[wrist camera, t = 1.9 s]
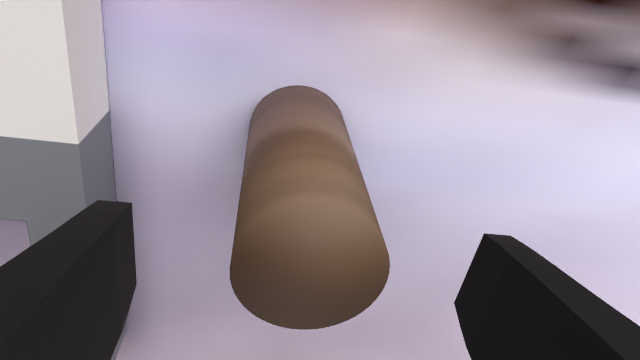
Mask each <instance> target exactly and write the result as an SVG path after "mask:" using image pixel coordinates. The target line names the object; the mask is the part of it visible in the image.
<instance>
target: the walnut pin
mask: <svg viewBox="0 0 640 360" xmlns="http://www.w3.org/2000/svg"><path fill="white" fill-rule="evenodd" d="M389 267H390V262H389V254H388V251H387V248H386V245H385V242H384V239H383V236H382V233H381V230H380V227H379V224H378V221H377V218H376V215H375V212H374V209H373V206H372V203H371V200H370V197H369V194H368V191H367V188H366V185H365V182H364V179H363V176H362V173H361V170H360V167H359V164H358V161H357V158H356V155H355V153H354V150H353V147H352V144H351V141H350V138H349V135H348V132H347V129H346V126H345V123H344V120H343V117H342V114H341V112H340V110H339V108H338V106H337V105H336V104H335V102H334V101H333V100H332V99H331V98H330V97H329V96H327V95H326V94H324V93H323V92H321V91H319V90H317V89H314V88H311V87H307V86H288V87H284V88H281V89H278V90H276V91H274V92H272V93H270V94H269V95H267V96H266V97H265V98H264V99H262V101H261V102H260V103H259V104H258V105H257V107H256V108H255V110H254V112H253V114H252V117H251V120H250V127H249V134H248V141H247V148H246V155H245V163H244V170H243V177H242V184H241V192H240V199H239V206H238V213H237V221H236V228H235V235H234V242H233V250H232V257H231V264H230V280H231V285H232V288H233V290H234V293H235V295H236V296H237V298H238V300H239V301H240V302H241V303H242V305H243V306H244V307H245V308H246V309H247V310H248V311H250V312H251V313H252V314H254V315H255V316H256V317H258V318H260V319H262V320H264V321H266V322H268V323H271V324H274V325H277V326H280V327H285V328H291V329H319V328H324V327H329V326H333V325H336V324H339V323H342V322H345V321H347V320H349V319H351V318H353V317H355V316H356V315H358V314H360V313H361V312H363V311H364V310H365V309H366V308H368V307H369V306H370V305H371V304H372V303H373V302H374V301H375V300H376V299H377V297H378V296H379V295H380V293H381V292H382V290H383V288H384V286H385V284H386V282H387V279H388V275H389Z"/></svg>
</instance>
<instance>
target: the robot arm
mask: <svg viewBox="0 0 640 360" xmlns="http://www.w3.org/2000/svg"><path fill="white" fill-rule="evenodd" d="M135 287H136V267H135V250H134V233H133V216H132V203H127V202H115V201H104V200H97V201H96V202H94V203H92V204H91V205H89V206H88V207H86V208H85V209H84V210H82V211H81V212H79V213H78V214H76V215H75V216H74V217H72V218H71V219H69V220H68V221H66V222H65V223H64V224H62V225H61V226H59V227H58V228H57V229H55V230H54V231H52V232H51V233H49V234H48V235H47V236H45V237H44V238H42V239H41V240H39V241H38V242H36V243H35V244H33V245H32V246H30V247H29V248H27V249H26V250H25V251H23V252H22V253H20V254H19V255H17V256H16V257H14V258H13V259H11V260H10V261H8V262H7V263H5V264H4V265H2V266H1V267H0V360H111V357H112V355H113V352H114V350H115V348H116V345H117V343H118V341H119V338H120V336H121V334H122V331H123V328H124V325H125V321H126V318H127V315H128V311H129V308H130V305H131V301H132V297H133V294H134V290H135ZM454 304H455V308H456V312H457V315H458V319H459V323H460V327H461V330H462V334H463V337H464V341H465V344H466V347H467V350H468V352H469V355H470V357H471V359H472V360H640V326H639V325H637V324H636V323H634V322H633V321H631V320H630V319H629V318H627V317H626V316H624V315H623V314H621V313H620V312H618V311H617V310H616V309H614V308H613V307H611V306H610V305H609V304H607V303H606V302H604V301H603V300H602V299H600V298H599V297H597V296H596V295H595V294H593V293H592V292H590V291H589V290H588V289H586V288H585V287H584V286H582V285H581V284H579V283H578V282H577V281H575V280H574V279H573V278H571V277H570V276H568V275H567V274H566V273H564V272H563V271H562V270H560V269H559V268H557V267H556V266H555V265H553V264H552V263H551V262H549V261H548V260H546V259H545V258H544V257H542V256H541V255H539V254H538V253H536V252H535V251H534V250H532V249H531V248H529V247H528V246H526V245H525V244H523V243H521V242H520V241H518V240H517V239H515V238H513V237H511V236H506V235H495V234H484V235H483V237H482V240H481V242H480V244H479V247H478V249H477V251H476V254H475V256H474V258H473V260H472V263H471V265H470V267H469V270H468V272H467V274H466V277H465V279H464V281H463V284H462V286H461V288H460V290H459V293H458V295H457V297H456V300H455V302H454Z"/></svg>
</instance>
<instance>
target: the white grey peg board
mask: <svg viewBox="0 0 640 360" xmlns="http://www.w3.org/2000/svg"><path fill="white" fill-rule="evenodd" d="M97 200H104V201H115V202H116V189H115V176H114V163H113V150H112V137H111V124H110V112H109V99H108V86H107V73H106V60H105V47H104V34H103V21H102V8H101V0H0V219H6V220H19V221H26V223H27V228H28V233H29V238H30V243H31V246H32V245H33V244H35V243H36V242H38V241H39V240H41V239H42V238H44V237H45V236H47V235H48V234H49V233H51V232H52V231H54V230H55V229H57V228H58V227H59V226H61V225H62V224H64V223H65V222H66V221H68V220H69V219H71V218H72V217H74V216H75V215H76V214H78V213H79V212H81V211H82V210H84V209H85V208H86V207H88V206H89V205H91V204H92V203H94V202H96V201H97ZM125 332H126V321H125V325H124V328H123V331H122V334H121V336H120V338H119V341H118V343H117V345H116V348H115V350H114V352H113V355H112V357H111V360H115V358H116V356H117V353H118V350H119V348H120V345H121V342H122V340H123V337H124V334H125Z"/></svg>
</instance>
